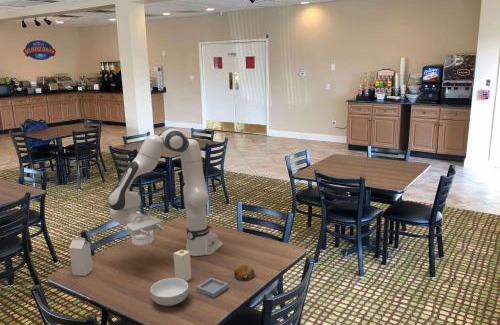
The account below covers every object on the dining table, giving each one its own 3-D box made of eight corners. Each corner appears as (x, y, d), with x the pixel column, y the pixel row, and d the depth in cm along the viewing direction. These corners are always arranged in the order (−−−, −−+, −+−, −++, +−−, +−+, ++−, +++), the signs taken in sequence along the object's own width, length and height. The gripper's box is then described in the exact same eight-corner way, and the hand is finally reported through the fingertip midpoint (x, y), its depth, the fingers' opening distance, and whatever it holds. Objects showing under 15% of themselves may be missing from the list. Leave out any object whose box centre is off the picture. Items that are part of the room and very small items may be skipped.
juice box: (183, 275, 212) (181, 246, 209) (191, 278, 209) (189, 249, 206) (175, 279, 208) (173, 250, 205) (183, 282, 205) (181, 253, 202)
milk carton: (85, 276, 214) (81, 241, 209) (72, 275, 215) (68, 240, 211) (93, 269, 221) (89, 235, 216) (80, 268, 222) (76, 234, 218)
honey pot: (127, 243, 252) (124, 214, 248) (140, 235, 264) (137, 207, 260) (145, 246, 248) (143, 217, 244) (158, 237, 259) (155, 209, 255)
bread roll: (255, 281, 212) (257, 264, 214) (249, 282, 203) (251, 265, 204) (237, 278, 215) (239, 262, 217) (230, 279, 206) (232, 262, 207)
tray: (211, 282, 205) (211, 277, 204) (228, 288, 199) (228, 283, 198) (196, 291, 197) (196, 286, 196) (213, 298, 191) (213, 293, 190)
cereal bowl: (188, 310, 182) (187, 295, 180) (148, 313, 181) (147, 298, 179) (190, 290, 198) (189, 276, 197) (154, 292, 197) (153, 278, 196)
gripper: (121, 220, 209) (141, 231, 202) (150, 212, 226) (170, 221, 220) (119, 232, 210) (139, 243, 204) (148, 223, 228) (168, 232, 221)
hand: (155, 232), depth 212 cm, fingers open, 8 cm apart
